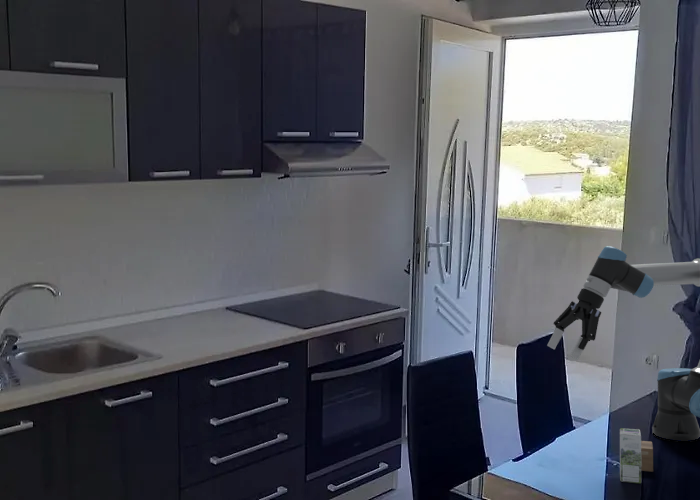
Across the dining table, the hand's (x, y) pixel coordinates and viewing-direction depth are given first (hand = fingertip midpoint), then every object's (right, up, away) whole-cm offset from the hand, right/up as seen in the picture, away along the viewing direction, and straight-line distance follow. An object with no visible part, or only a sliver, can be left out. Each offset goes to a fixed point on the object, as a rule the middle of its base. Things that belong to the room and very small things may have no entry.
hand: (561, 352), depth 230 cm
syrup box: (+15, -35, -16) cm, 41 cm away
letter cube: (+22, -34, -5) cm, 41 cm away
